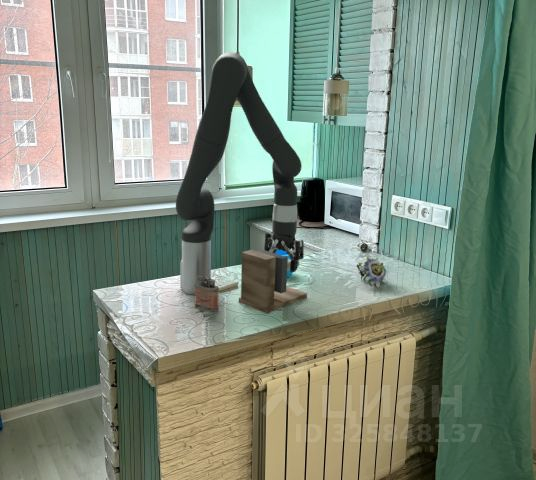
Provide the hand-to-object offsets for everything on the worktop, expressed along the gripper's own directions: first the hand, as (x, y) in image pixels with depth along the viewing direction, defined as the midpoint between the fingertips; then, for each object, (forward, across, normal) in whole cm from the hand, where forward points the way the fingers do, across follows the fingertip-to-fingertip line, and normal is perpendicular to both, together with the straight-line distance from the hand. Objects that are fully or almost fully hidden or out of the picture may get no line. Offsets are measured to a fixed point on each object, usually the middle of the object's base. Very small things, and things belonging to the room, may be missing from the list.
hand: (282, 268), depth 165 cm
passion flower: (+10, +12, +33) cm, 36 cm away
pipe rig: (+10, 0, -4) cm, 10 cm away
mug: (+10, -14, +16) cm, 23 cm away
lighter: (+10, -9, -24) cm, 27 cm away
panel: (+5, 0, -5) cm, 8 cm away
